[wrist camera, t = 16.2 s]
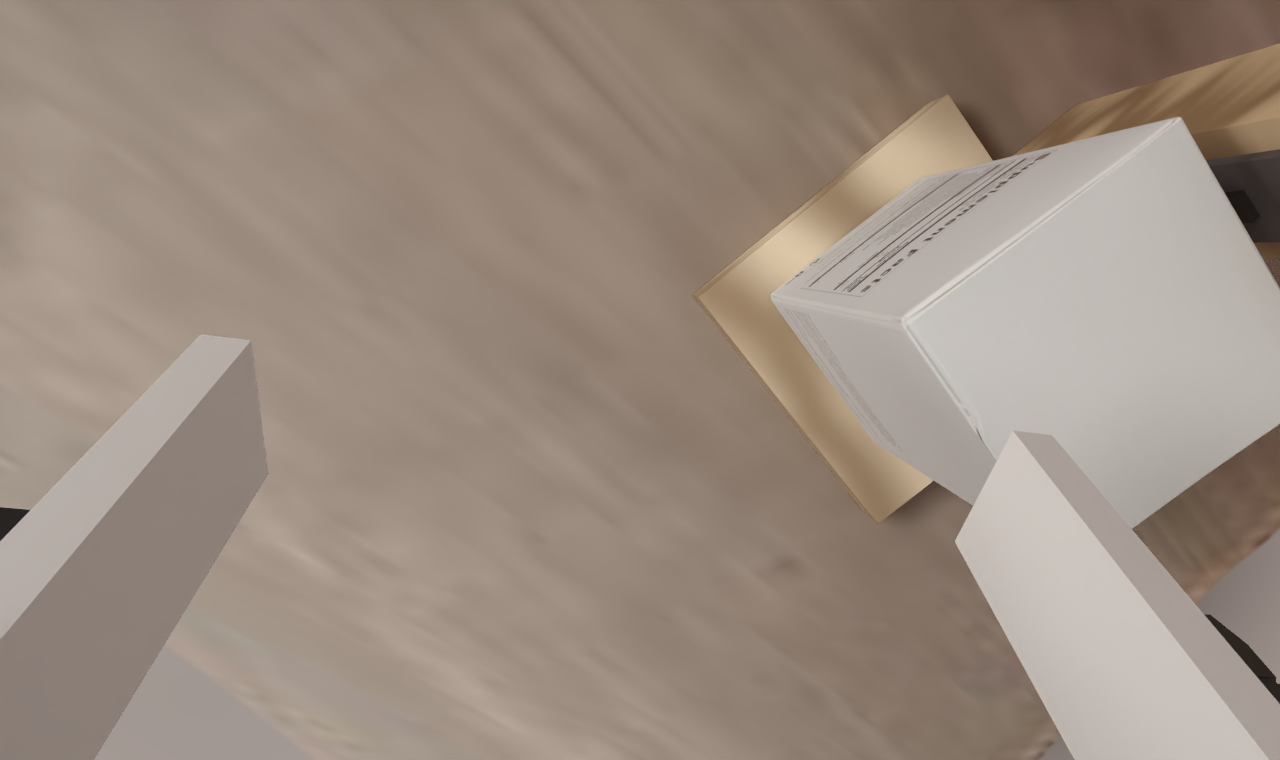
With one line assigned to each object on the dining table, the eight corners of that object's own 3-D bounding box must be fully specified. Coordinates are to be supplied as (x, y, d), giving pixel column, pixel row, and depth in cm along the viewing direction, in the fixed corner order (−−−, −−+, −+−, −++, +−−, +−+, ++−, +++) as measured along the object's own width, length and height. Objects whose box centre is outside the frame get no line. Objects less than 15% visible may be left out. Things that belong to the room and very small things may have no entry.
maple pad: (862, 510, 38) (877, 524, 36) (692, 295, 35) (698, 297, 33) (1086, 335, 37) (1114, 339, 35) (927, 103, 35) (948, 94, 33)
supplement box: (1029, 331, 35) (1354, 389, 20) (873, 446, 35) (1077, 587, 20) (925, 169, 33) (1194, 102, 18) (762, 292, 34) (897, 323, 19)
